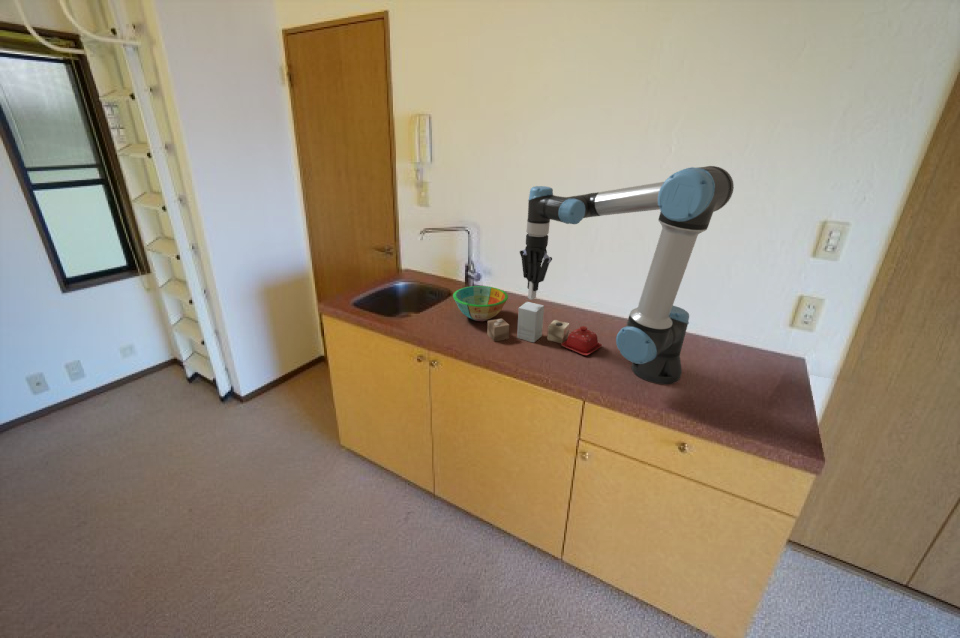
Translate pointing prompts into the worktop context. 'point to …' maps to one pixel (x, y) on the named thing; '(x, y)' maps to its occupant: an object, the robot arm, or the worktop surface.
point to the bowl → (480, 301)
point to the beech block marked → (558, 331)
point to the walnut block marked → (498, 329)
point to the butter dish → (582, 341)
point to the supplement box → (530, 321)
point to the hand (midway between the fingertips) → (531, 298)
